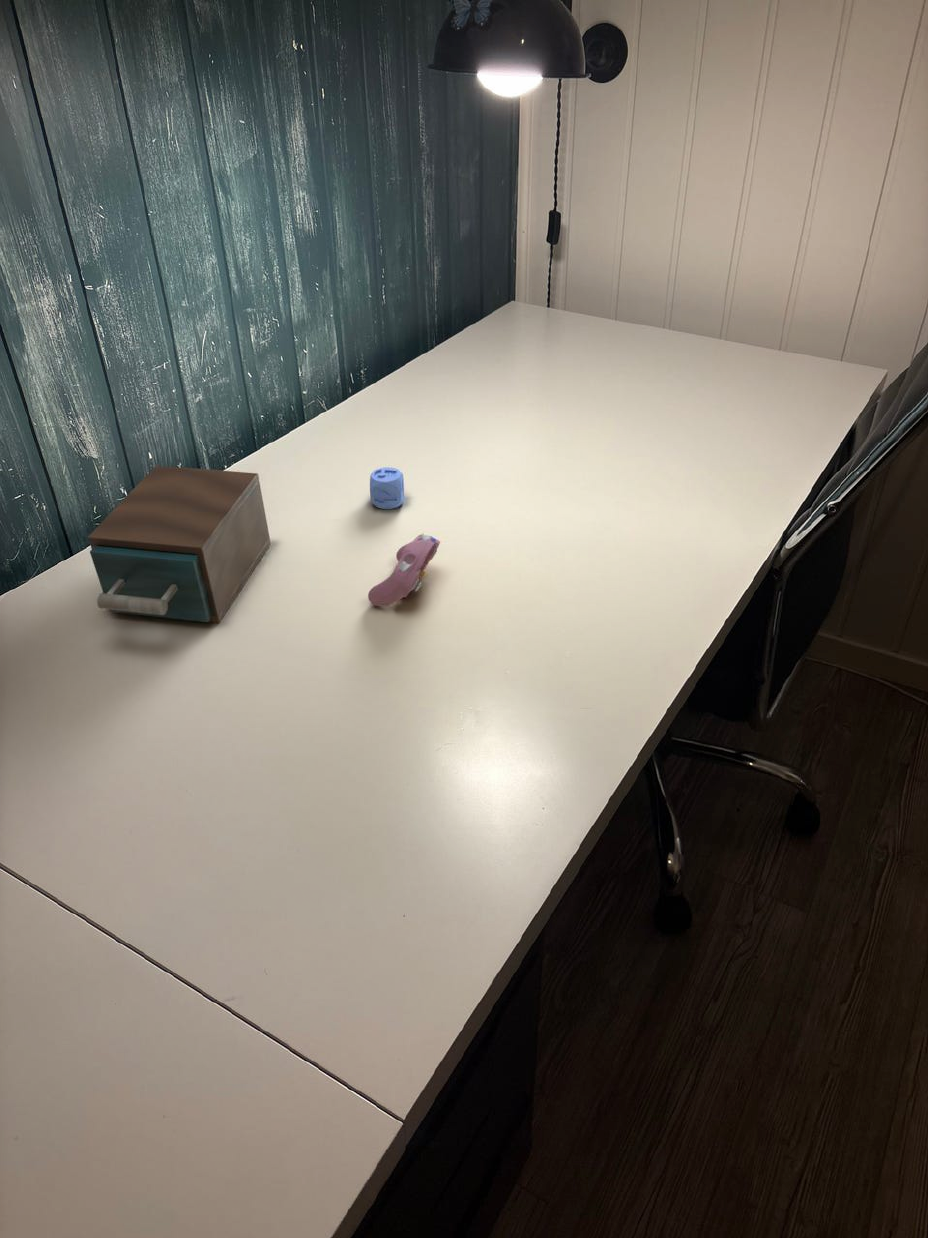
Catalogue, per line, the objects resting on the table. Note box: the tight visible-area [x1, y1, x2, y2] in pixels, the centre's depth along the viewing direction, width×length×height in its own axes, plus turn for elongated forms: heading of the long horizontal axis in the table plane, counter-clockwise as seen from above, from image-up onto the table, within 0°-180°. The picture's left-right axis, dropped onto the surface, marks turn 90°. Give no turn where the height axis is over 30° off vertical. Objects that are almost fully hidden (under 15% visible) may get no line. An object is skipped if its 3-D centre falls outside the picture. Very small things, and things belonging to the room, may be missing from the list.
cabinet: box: [87, 465, 272, 624], centre depth 104 cm, size 16×13×10 cm
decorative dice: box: [369, 466, 405, 510], centre depth 118 cm, size 4×4×4 cm
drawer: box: [89, 546, 212, 623], centre depth 101 cm, size 19×12×8 cm, turn 169°
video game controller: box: [367, 532, 441, 607], centre depth 102 cm, size 10×5×7 cm, turn 161°
